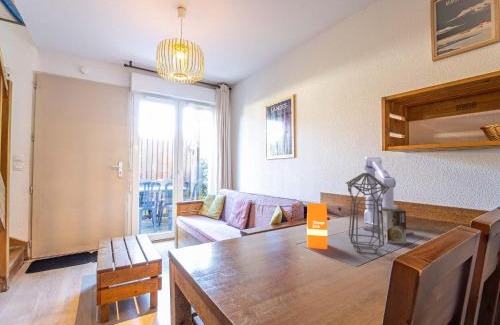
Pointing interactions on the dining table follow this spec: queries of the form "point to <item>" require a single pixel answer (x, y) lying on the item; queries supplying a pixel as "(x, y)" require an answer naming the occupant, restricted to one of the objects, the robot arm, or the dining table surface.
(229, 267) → the dining table surface
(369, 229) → the stand base
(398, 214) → the coffee box
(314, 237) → the orange juice
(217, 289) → the dining table surface
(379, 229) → the geometric lantern
